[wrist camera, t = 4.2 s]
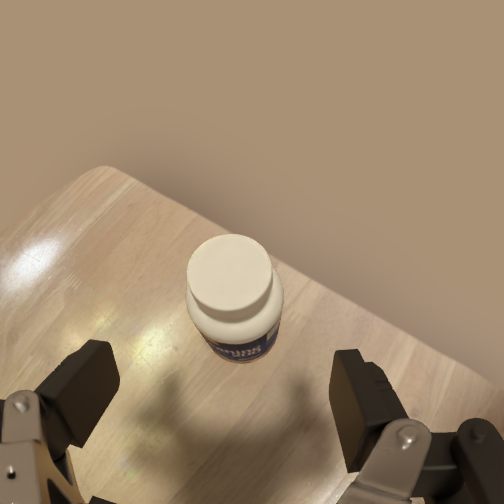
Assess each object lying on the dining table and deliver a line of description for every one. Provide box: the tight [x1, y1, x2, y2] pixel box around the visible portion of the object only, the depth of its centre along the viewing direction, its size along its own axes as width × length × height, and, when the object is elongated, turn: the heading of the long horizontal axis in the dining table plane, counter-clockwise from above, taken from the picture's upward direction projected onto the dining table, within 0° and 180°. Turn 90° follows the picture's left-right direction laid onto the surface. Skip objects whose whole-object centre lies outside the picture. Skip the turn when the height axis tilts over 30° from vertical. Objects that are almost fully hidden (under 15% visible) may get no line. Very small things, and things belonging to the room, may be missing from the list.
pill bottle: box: [186, 234, 284, 363], centre depth 17 cm, size 5×5×10 cm
